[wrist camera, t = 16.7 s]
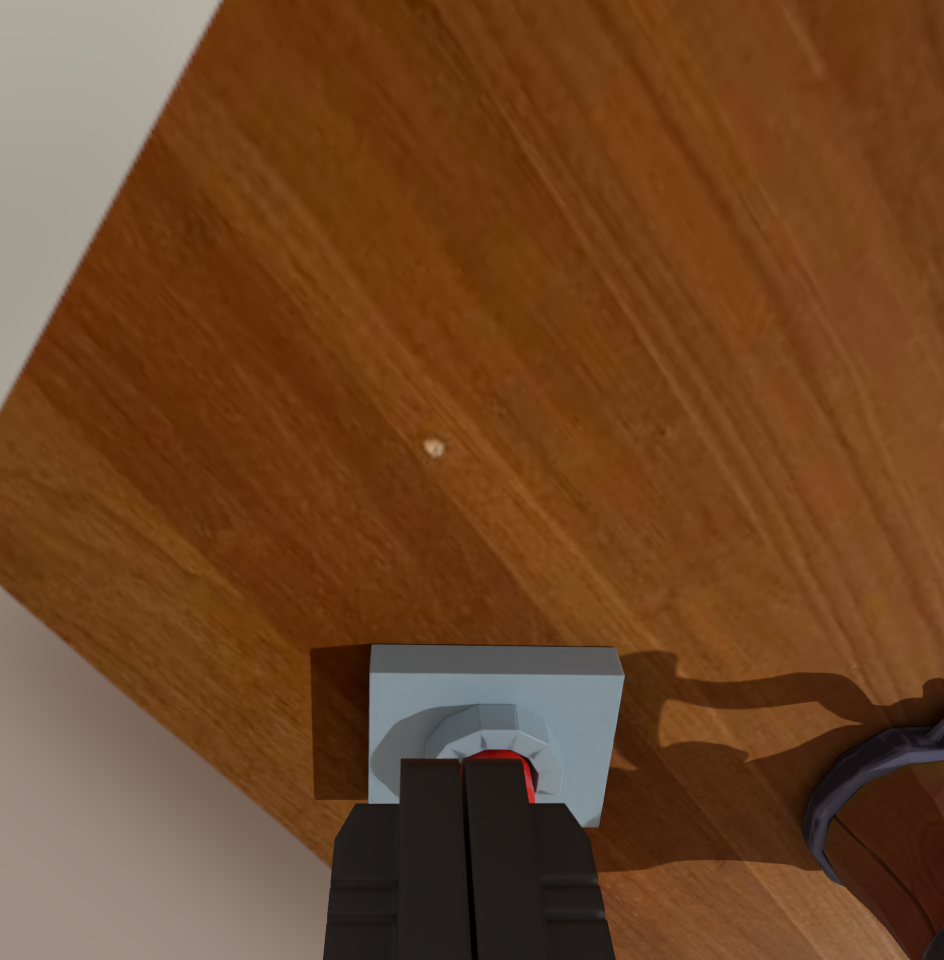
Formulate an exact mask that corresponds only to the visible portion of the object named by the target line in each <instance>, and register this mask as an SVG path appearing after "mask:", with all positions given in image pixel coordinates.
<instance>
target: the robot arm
mask: <svg viewBox="0 0 944 960" xmlns="http://www.w3.org/2000/svg"><path fill="white" fill-rule="evenodd" d="M323 960H616V959H615V955H614V950H613V945H612V941H611V936H610V931H609V927H608V922H607V920H606V919H605V908H604V904H603V899H602V894H601V890H600V886H598V876H597V871H596V867H595V862H594V858H593V853H592V848H591V844H590V839H589V837H588V835H587V834H586V832H585V831H584V830H583V828H582V827H581V825H580V824H579V822H578V821H577V820H576V818H575V817H574V815H573V814H572V813H571V811H570V810H569V808H568V807H567V805H566V804H565V803H529V799H528V792H527V786H526V779H525V772H524V766H523V762H522V760H521V758H463V760H462V767H461V778H460V764H459V759H453V758H401V762H400V792H399V804H355V806H354V808H353V809H352V811H351V813H350V814H349V816H348V818H347V819H346V821H345V823H344V824H343V826H342V828H341V830H340V831H339V833H338V835H337V836H336V838H335V842H334V853H333V863H332V873H331V888H330V894H329V905H328V914H327V925H326V935H325V945H324V955H323Z"/></svg>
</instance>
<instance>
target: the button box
mask: <svg viewBox="0 0 944 960" xmlns="http://www.w3.org/2000/svg"><path fill="white" fill-rule="evenodd" d="M624 677H625V675H624V672H623V669H622V666H621V663H620V660H619V657H618V654H617V651H616V648H615V647H542V646H463V645H384V644H372V645H371V658H370V672H369V762H368V804H399V792H400V762H401V758H453V759H459V764H460V766H461V764H462V760H463V758H468V757H470V756H471V755H473V754H476V753H478V752H480V751H483V750H488V749H504V750H509V751H512V752H514V753H516V754H518V755H520V756H521V757H522V758H523V759H524V760H525V761H526V762H527V763H528V765H529V767H530V770H531V776H532V782H533V788H534V795H535V803H565V804H566V805H567V807H568V808H569V810H570V811H571V813H572V814H573V815H574V817H575V818H576V820H577V821H578V822H579V824H580V825H581V827H599V823H600V817H601V811H602V805H603V799H604V793H605V788H606V782H607V776H608V770H609V764H610V759H611V753H612V747H613V741H614V735H615V730H616V724H617V718H618V712H619V706H620V700H621V695H622V689H623V683H624Z"/></svg>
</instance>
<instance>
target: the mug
mask: <svg viewBox="0 0 944 960" xmlns="http://www.w3.org/2000/svg"><path fill="white" fill-rule="evenodd" d="M801 830H802V835H803V838H804V841H805V843H806V845H807V847H808V848H809V850H810V851H811V853H812V854H813V856H814V857H815V859H816V860H817V862H818V863H819V865H820V867H821V868H822V870H823V871H824V873H825V874H826V876H827V877H828V878H829V879H830V880H831V881H833V882H836V883H838V884H840V885H842V886H844V887H846V888H847V889H848V890H849V891H850V892H851V893H852V894H853V895H854V896H855V897H856V898H857V899H858V900H859V901H860V902H861V903H862V904H863V905H864V906H865V907H867V908H868V909H869V910H870V912H871V913H872V914H873V915H874V916H875V917H876V918H877V919H878V920H879V921H880V922H881V923H882V924H883V925H884V926H885V927H886V929H887V930H888V931H889V932H890V934H891V935H892V936H893V938H894V939H895V940H896V942H897V943H898V944H899V946H900V947H901V948H902V950H903V951H904V952H905V954H906V955H907V956H908V958H909V959H910V960H944V717H943V719H942V721H941V722H940V723H939V724H937V725H936V726H923V727H909V728H894V729H887V730H885V731H883V732H882V733H880V734H878V735H876V736H874V737H873V738H871V739H869V740H867V741H866V742H864V743H862V744H860V745H858V746H857V747H855V748H853V749H851V750H849V751H848V752H846V753H844V754H842V755H841V757H840V758H839V759H838V761H837V762H836V763H835V764H834V766H833V767H832V768H831V769H830V771H829V772H828V773H827V774H826V776H825V777H824V778H823V780H822V781H821V782H820V783H819V785H818V786H817V787H816V788H815V790H814V791H813V792H812V794H811V796H810V799H809V802H808V806H807V809H806V812H805V815H804V818H803V821H802V825H801Z"/></svg>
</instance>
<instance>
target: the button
mask: <svg viewBox="0 0 944 960" xmlns="http://www.w3.org/2000/svg"><path fill="white" fill-rule="evenodd" d="M468 758H521V760H522V762H523V766H524V772H525V779H526V786H527V792H528V799H529V803H535V795H534V788H533V782H532V776H531V770H530V767H529V765H528V763H527V762H526V761H525V760H524V759H523V758H522V757H521V756H520V755H518V754H516V753H514V752H512V751H509V750H504V749H488V750H483V751H480V752H478V753H476V754H473V755H471V756H470V757H468ZM461 767H462V764H461V766H460V778H461Z"/></svg>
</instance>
